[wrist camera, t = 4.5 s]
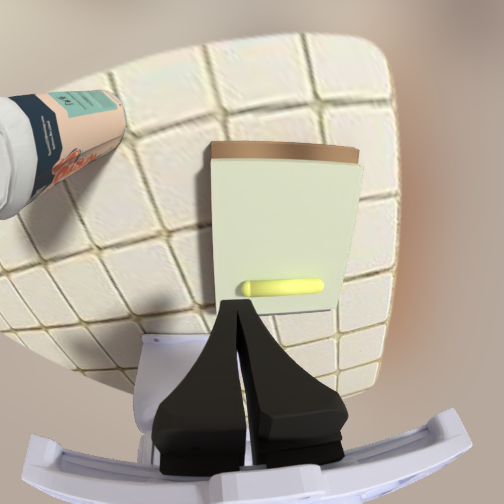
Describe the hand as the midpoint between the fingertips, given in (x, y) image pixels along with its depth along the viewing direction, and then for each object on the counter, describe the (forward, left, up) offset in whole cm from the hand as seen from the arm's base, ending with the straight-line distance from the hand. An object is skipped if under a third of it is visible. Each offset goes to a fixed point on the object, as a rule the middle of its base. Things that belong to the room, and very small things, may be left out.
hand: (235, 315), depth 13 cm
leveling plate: (+4, -1, -8) cm, 9 cm away
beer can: (-9, +8, -10) cm, 16 cm away
